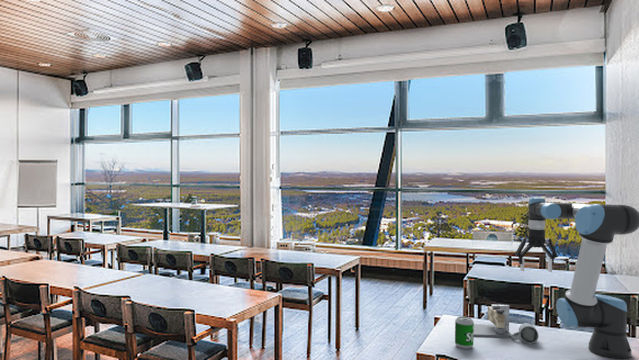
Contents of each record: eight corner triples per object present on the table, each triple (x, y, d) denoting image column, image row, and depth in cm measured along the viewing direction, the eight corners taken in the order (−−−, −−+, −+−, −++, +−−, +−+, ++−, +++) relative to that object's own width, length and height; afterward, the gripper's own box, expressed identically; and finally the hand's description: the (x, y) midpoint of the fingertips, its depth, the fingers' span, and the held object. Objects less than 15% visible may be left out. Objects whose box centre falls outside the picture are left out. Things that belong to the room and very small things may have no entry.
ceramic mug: (535, 338, 202) (535, 321, 202) (538, 344, 194) (538, 327, 194) (510, 336, 205) (510, 319, 205) (512, 342, 197) (512, 324, 197)
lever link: (505, 328, 204) (505, 311, 204) (497, 327, 204) (497, 310, 204) (494, 318, 217) (494, 302, 218) (486, 318, 218) (487, 302, 218)
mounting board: (513, 337, 203) (513, 329, 203) (472, 336, 203) (472, 328, 203) (500, 326, 218) (500, 319, 218) (462, 325, 218) (462, 318, 218)
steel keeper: (508, 333, 208) (509, 306, 208) (492, 333, 208) (492, 305, 208) (507, 332, 210) (507, 304, 210) (491, 332, 210) (491, 304, 210)
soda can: (461, 350, 186) (461, 321, 186) (451, 344, 193) (451, 316, 193) (477, 349, 188) (477, 320, 188) (466, 342, 195) (467, 315, 195)
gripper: (558, 228, 226) (557, 270, 226) (508, 227, 227) (507, 269, 227) (565, 230, 218) (565, 273, 218) (514, 228, 219) (513, 272, 219)
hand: (536, 271), depth 222 cm, fingers open, 13 cm apart
